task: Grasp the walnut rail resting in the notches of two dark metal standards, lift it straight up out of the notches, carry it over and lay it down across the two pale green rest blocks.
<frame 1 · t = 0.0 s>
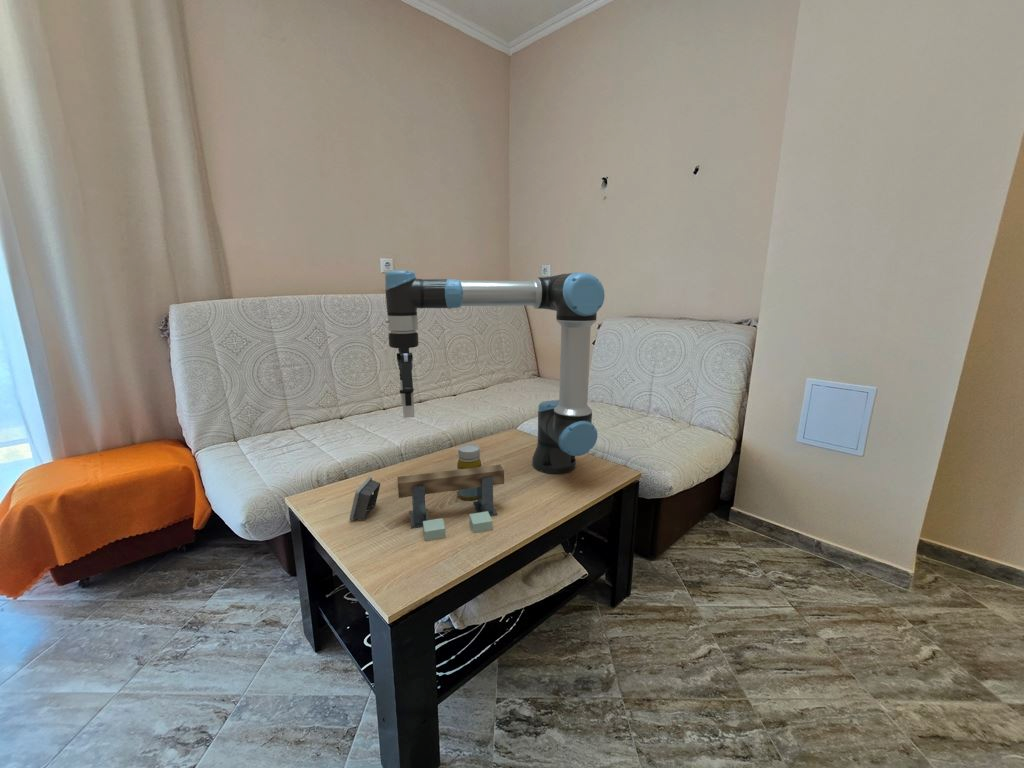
hand: (407, 409, 114), 28 cm above the table, fingers open, 13 cm apart
rail: (452, 487, 112), point 8 cm above the table, touching standard 1, standard 2
bottle: (470, 495, 125), on the table
rest blocks: (457, 529, 107), on the table
standard 1: (419, 519, 112), on the table
standard 2: (485, 509, 117), on the table
electrical switch: (366, 513, 115), on the table
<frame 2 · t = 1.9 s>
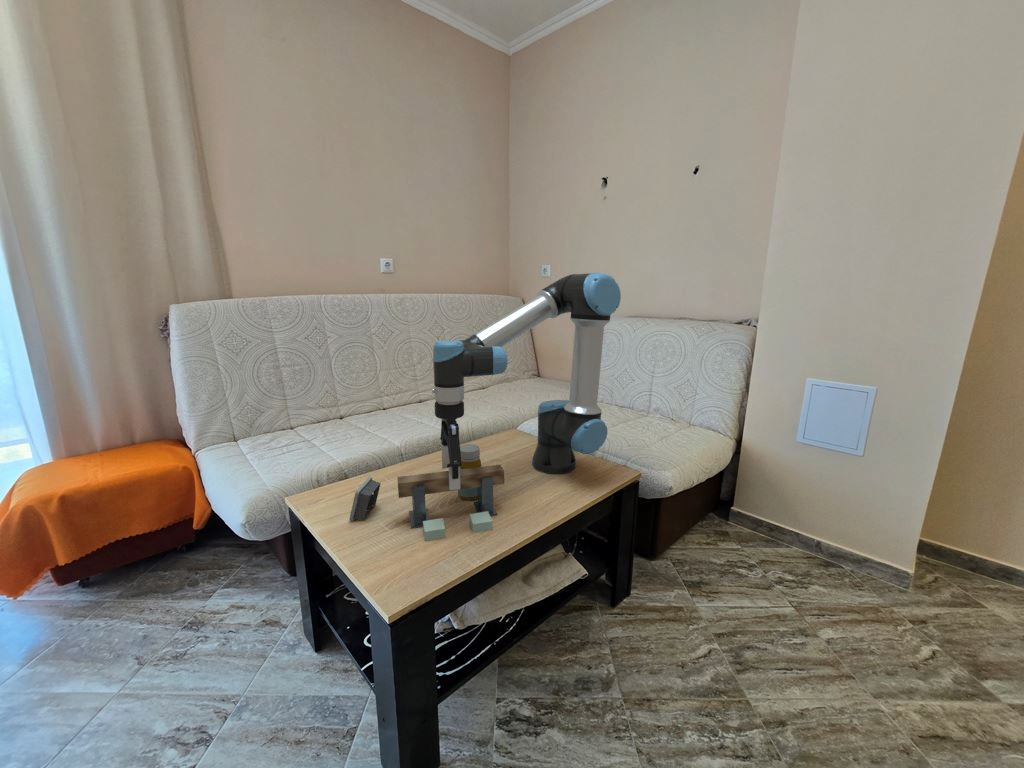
hand: (450, 477, 112), 11 cm above the table, fingers open, 13 cm apart
nothing on the table moved.
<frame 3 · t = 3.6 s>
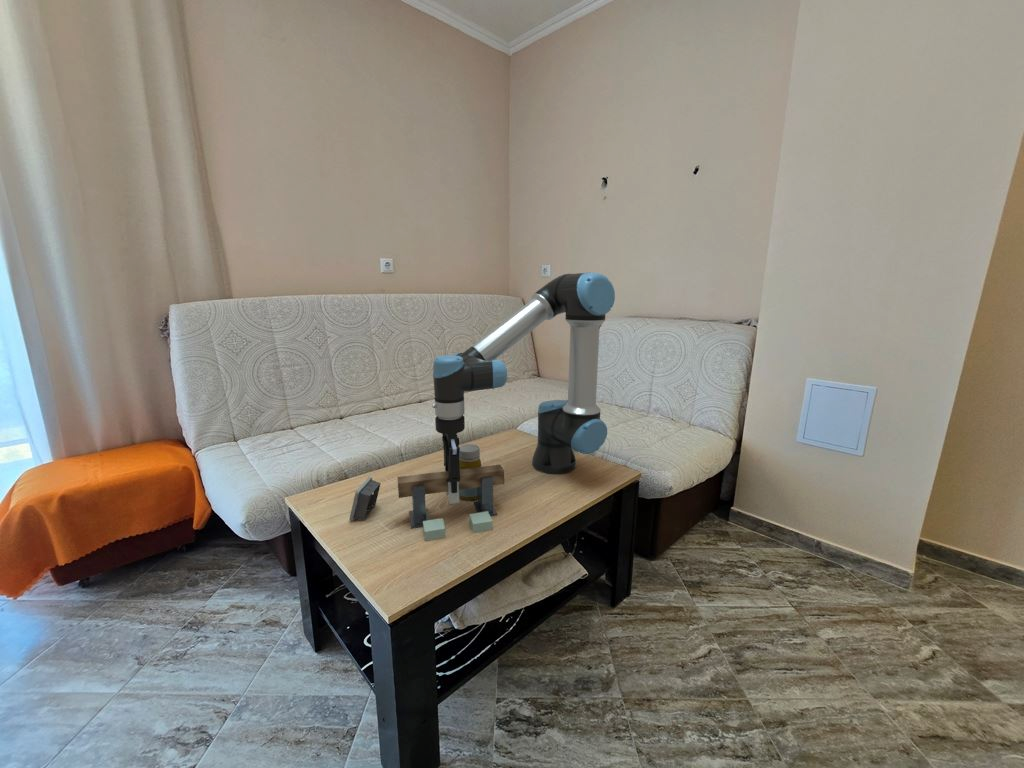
hand: (452, 498, 113), 5 cm above the table, fingers closed on rail, 4 cm apart
rail: (452, 487, 112), point 8 cm above the table, touching gripper, standard 1
everything else where it was.
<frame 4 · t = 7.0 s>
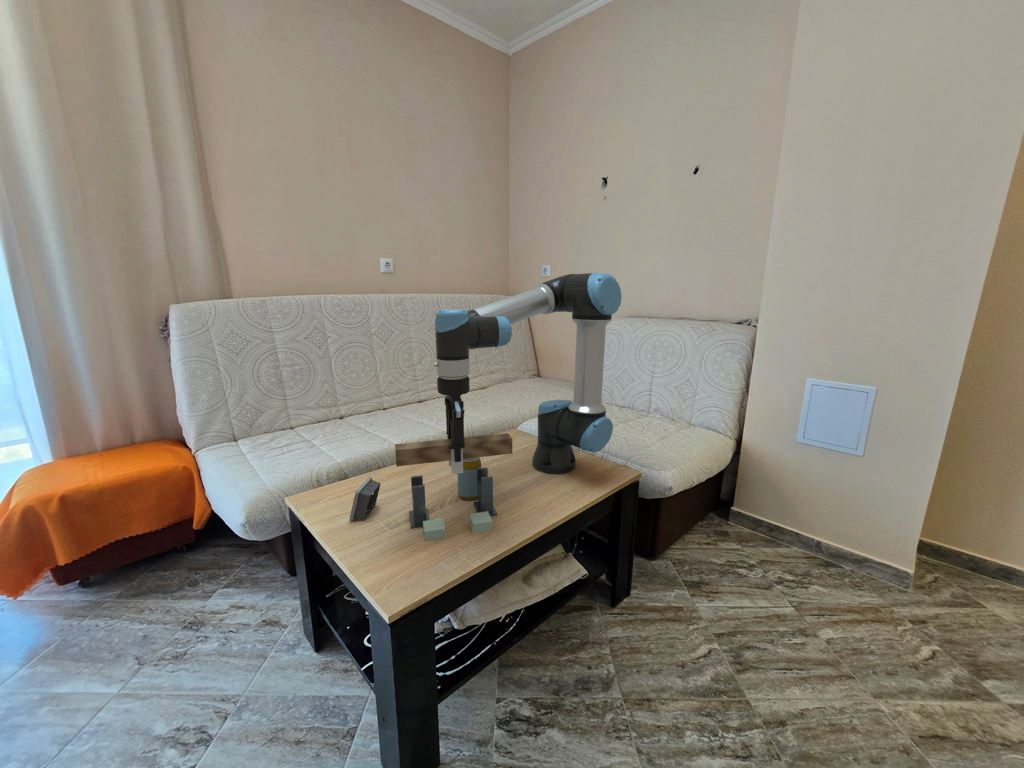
hand: (455, 468, 103), 17 cm above the table, fingers closed on rail, 4 cm apart
rail: (455, 456, 102), point 20 cm above the table, touching gripper
everything else where it was.
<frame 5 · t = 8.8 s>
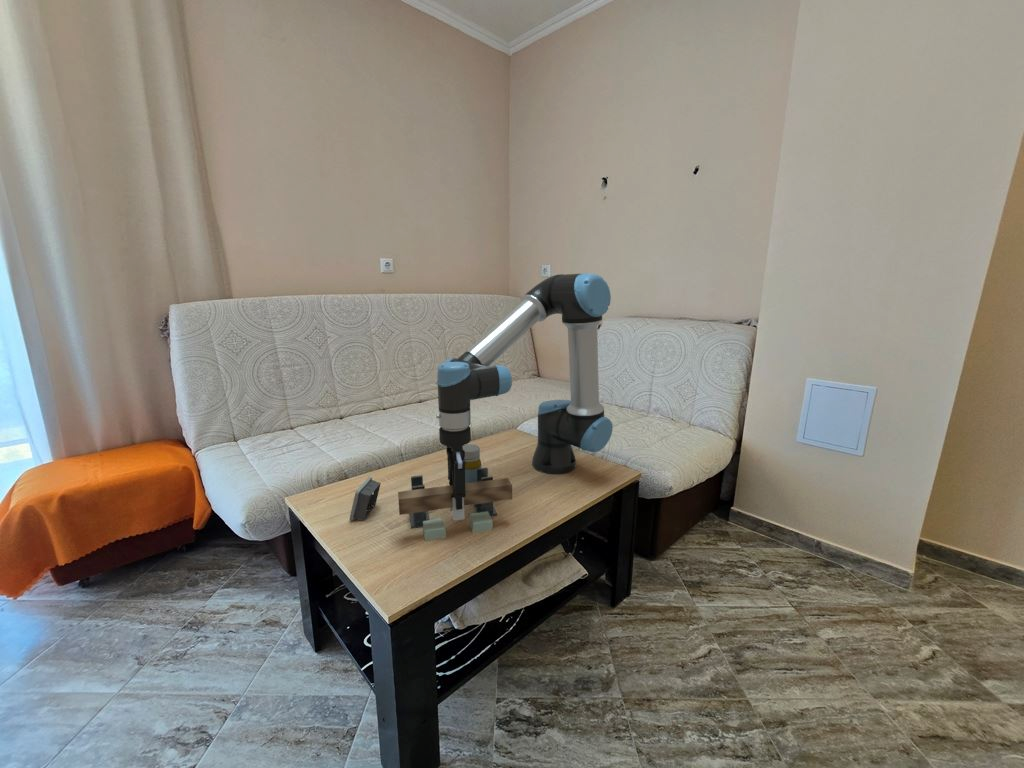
hand: (457, 514, 106), 4 cm above the table, fingers closed on rail, 4 cm apart
rail: (456, 502, 105), point 8 cm above the table, touching gripper
everything else where it was.
when the fingers open (1 cm above the table, at t = 10.3 s): rail drops 2 cm, resting on rest blocks.
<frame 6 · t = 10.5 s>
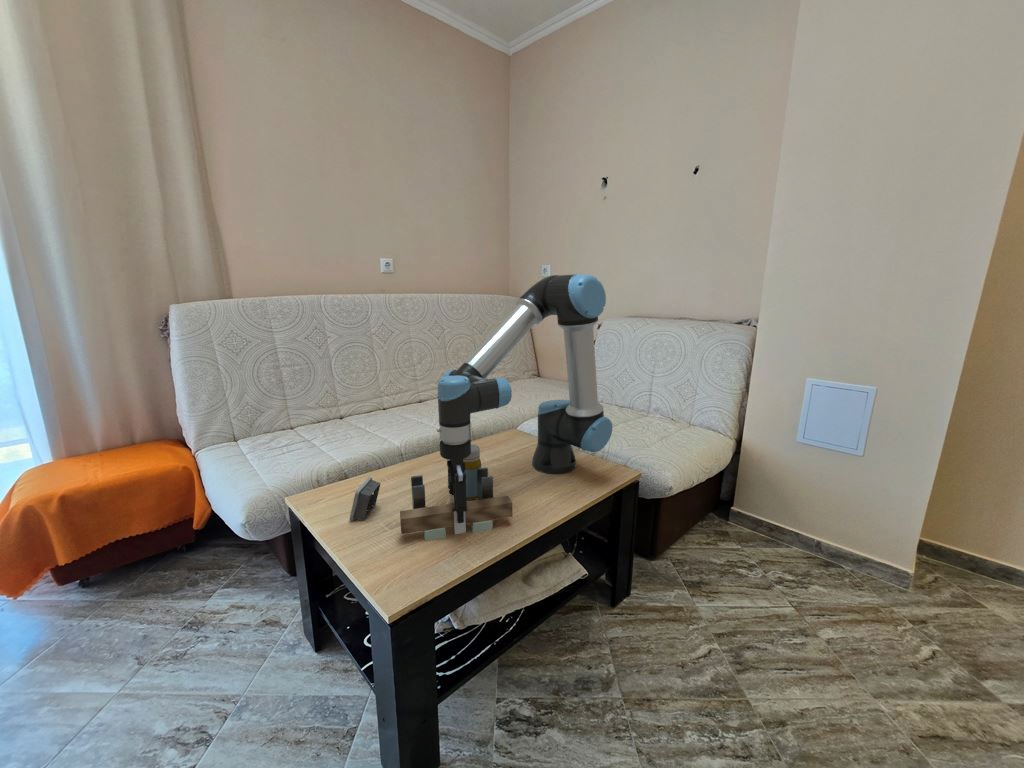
hand: (457, 524, 106), 1 cm above the table, fingers open, 6 cm apart
rail: (457, 521, 106), point 2 cm above the table, touching rest blocks
everything else where it was.
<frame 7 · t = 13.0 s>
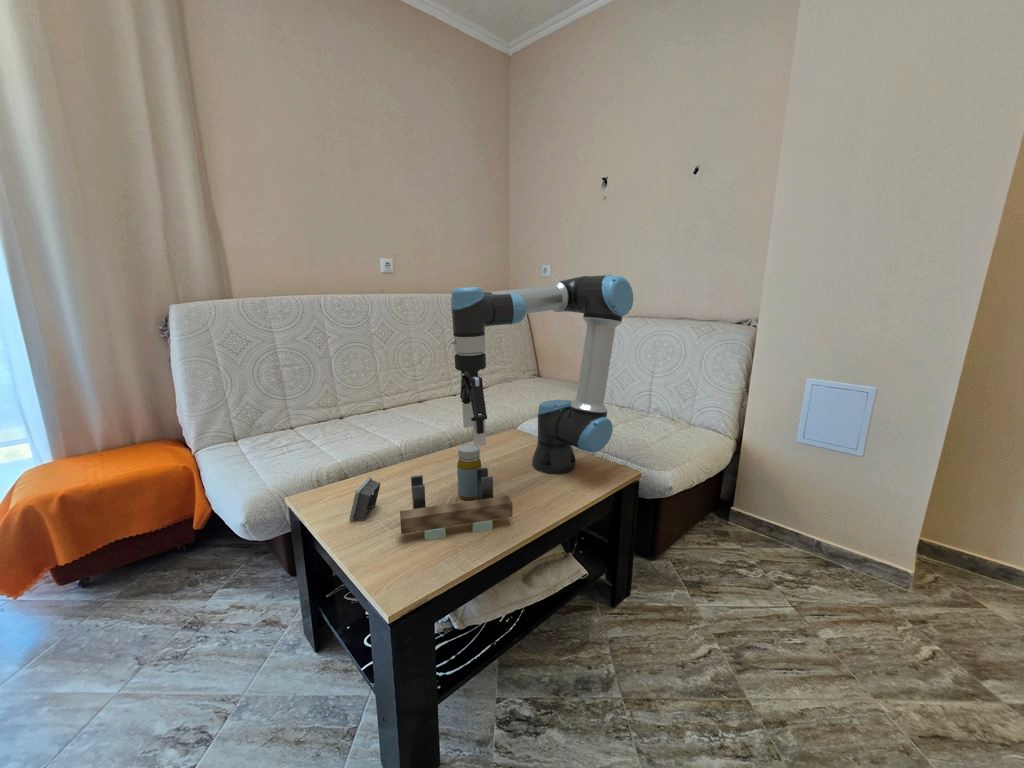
hand: (473, 435, 106), 24 cm above the table, fingers open, 13 cm apart
nothing on the table moved.
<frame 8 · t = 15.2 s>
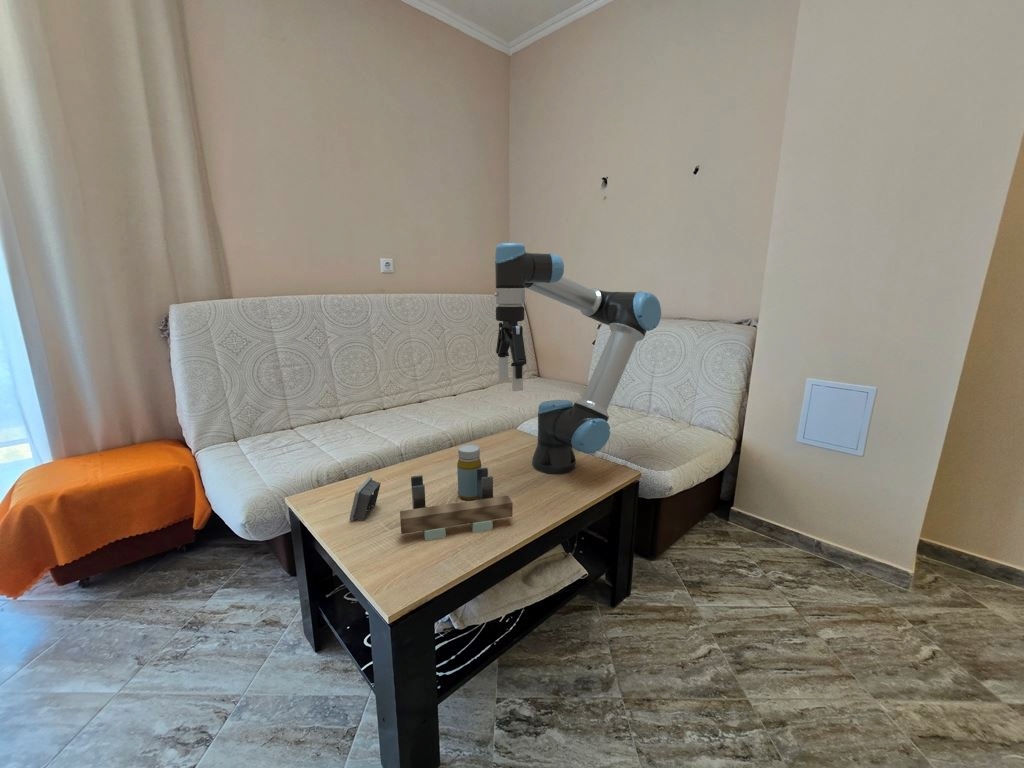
hand: (510, 384, 114), 35 cm above the table, fingers open, 13 cm apart
nothing on the table moved.
at the end: rail inside the target area (0.0 cm from its centre), point 2.5 cm above the table; rail touching rest blocks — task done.
